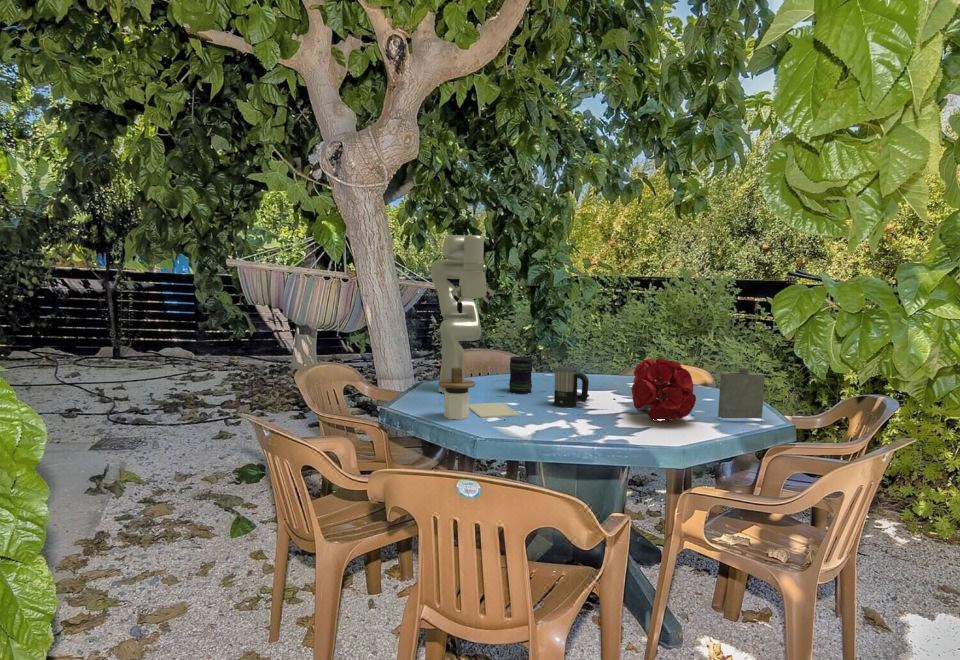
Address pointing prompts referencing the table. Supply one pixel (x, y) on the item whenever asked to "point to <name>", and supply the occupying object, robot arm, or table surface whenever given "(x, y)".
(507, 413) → the placemat
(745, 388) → the hip flask
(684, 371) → the bouquet
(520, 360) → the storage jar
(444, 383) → the lid
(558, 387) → the milk frother
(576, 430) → the table surface
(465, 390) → the jar
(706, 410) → the table surface
